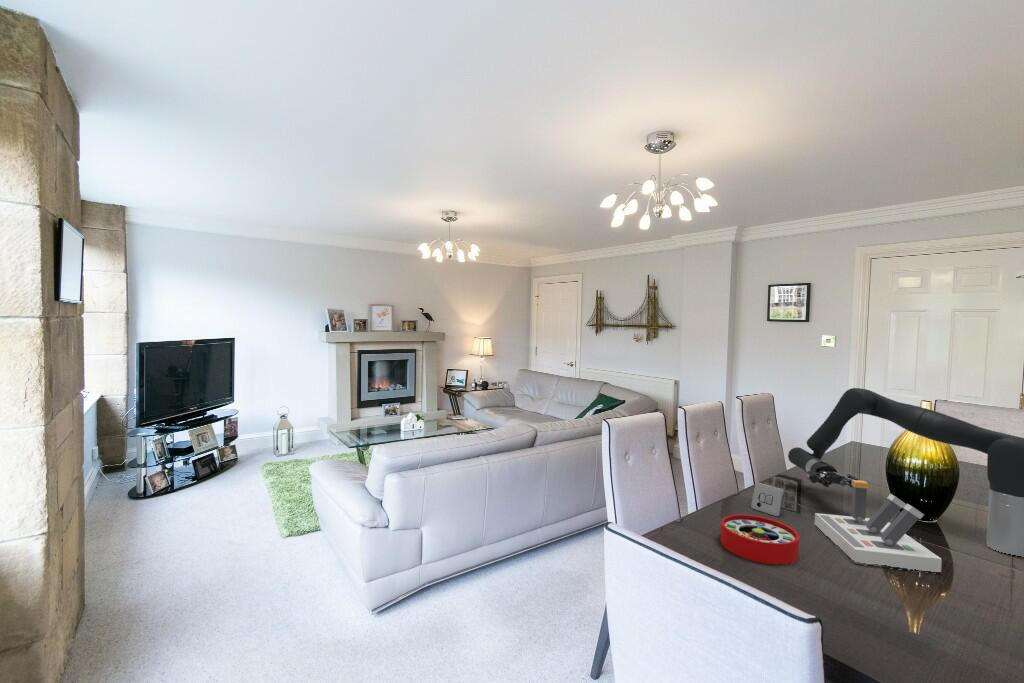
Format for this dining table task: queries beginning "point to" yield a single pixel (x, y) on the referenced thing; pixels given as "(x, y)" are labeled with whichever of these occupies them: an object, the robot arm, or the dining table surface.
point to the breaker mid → (884, 514)
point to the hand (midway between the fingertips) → (842, 485)
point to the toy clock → (759, 539)
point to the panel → (875, 544)
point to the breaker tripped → (859, 499)
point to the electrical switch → (767, 499)
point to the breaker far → (901, 525)
